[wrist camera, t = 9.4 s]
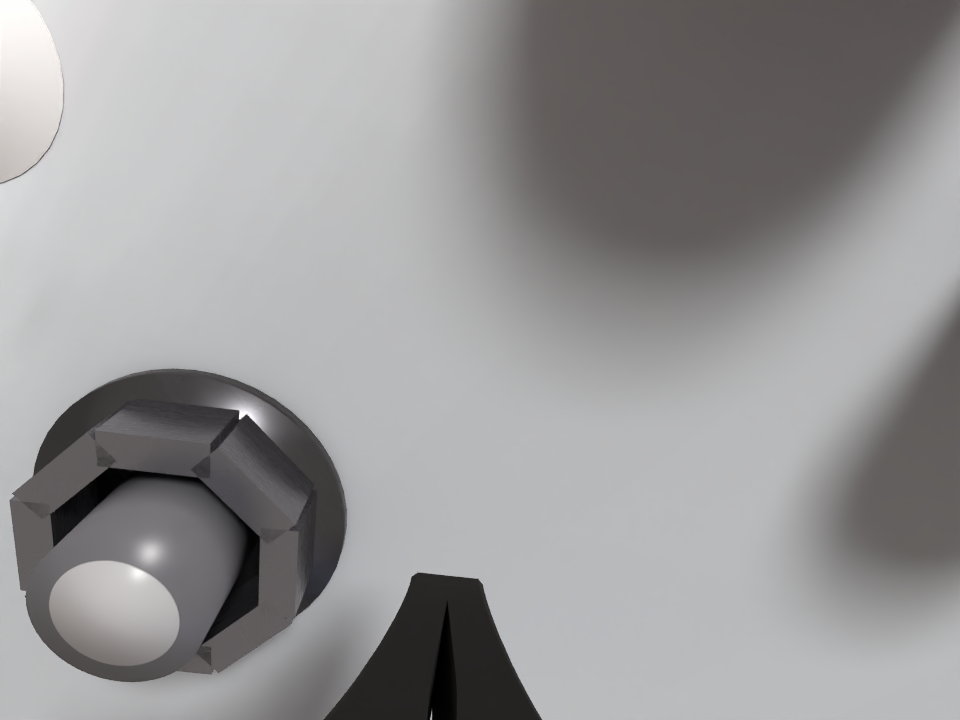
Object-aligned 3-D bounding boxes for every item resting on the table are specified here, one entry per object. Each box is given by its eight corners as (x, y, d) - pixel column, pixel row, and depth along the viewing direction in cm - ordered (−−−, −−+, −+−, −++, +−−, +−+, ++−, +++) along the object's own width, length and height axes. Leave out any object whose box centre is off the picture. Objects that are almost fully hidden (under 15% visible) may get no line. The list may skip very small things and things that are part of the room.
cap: (260, 579, 24) (205, 692, 19) (123, 566, 24) (33, 676, 19) (262, 460, 22) (202, 550, 17) (115, 445, 22) (13, 531, 17)
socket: (337, 644, 25) (320, 708, 23) (54, 615, 25) (0, 677, 22) (356, 389, 22) (339, 426, 19) (27, 349, 21) (-42, 382, 19)
